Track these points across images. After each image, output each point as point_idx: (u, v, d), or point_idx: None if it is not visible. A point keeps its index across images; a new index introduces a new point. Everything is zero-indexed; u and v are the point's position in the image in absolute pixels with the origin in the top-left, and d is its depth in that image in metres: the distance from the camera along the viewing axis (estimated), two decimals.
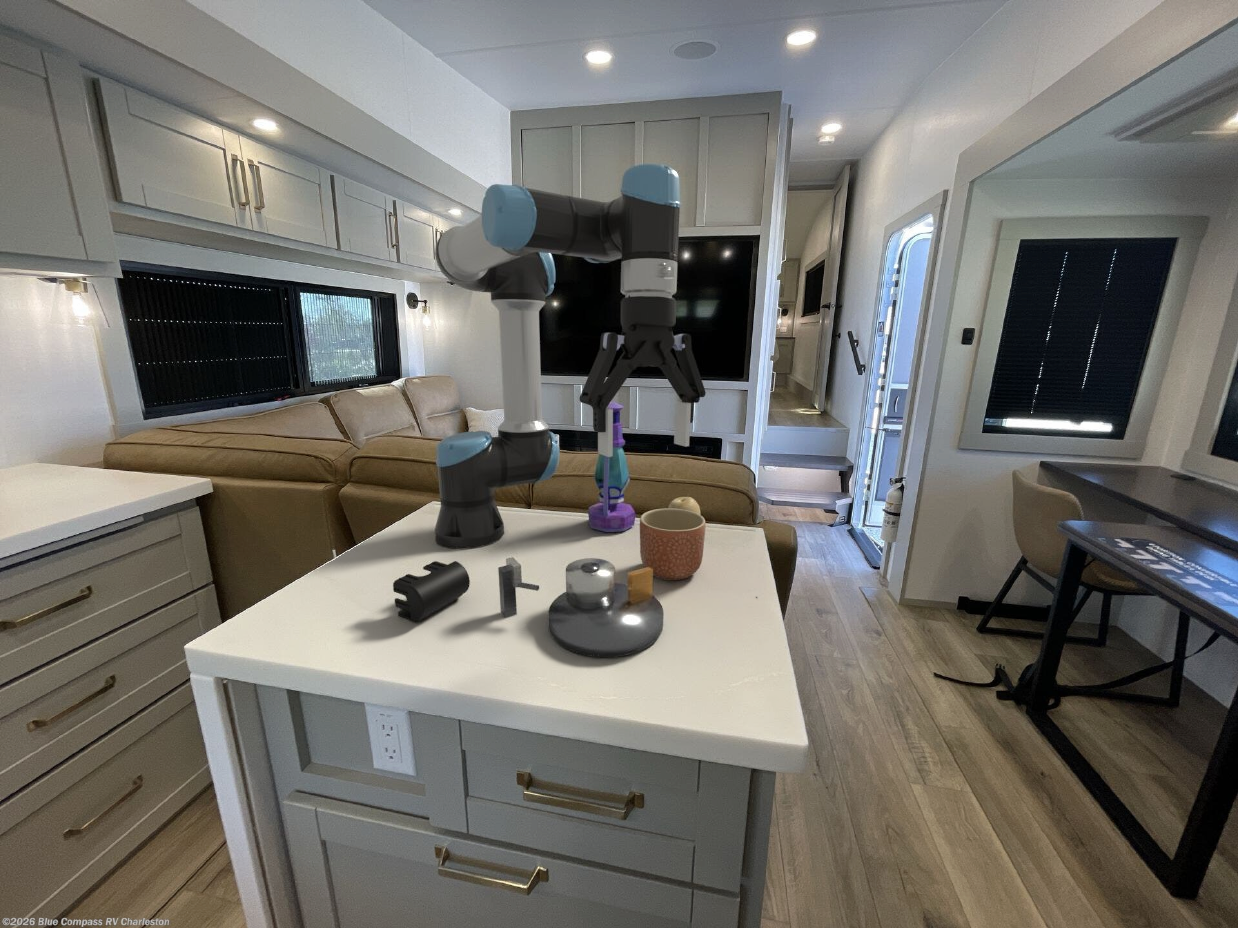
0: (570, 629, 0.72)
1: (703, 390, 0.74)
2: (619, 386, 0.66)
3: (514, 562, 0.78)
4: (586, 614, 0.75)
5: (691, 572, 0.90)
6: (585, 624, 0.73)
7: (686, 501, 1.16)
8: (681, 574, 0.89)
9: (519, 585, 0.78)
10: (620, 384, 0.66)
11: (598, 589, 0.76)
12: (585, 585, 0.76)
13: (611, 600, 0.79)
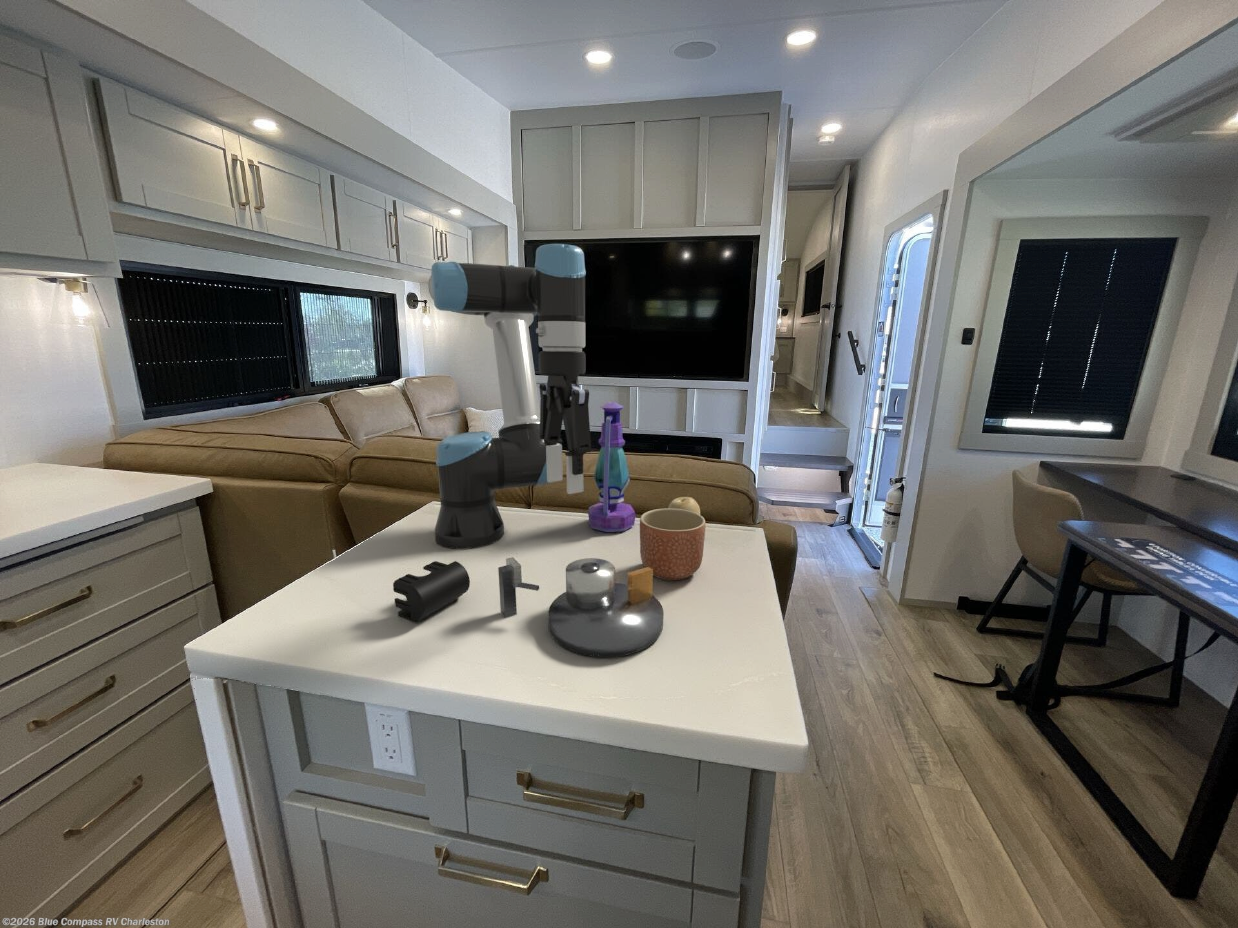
0: (570, 629, 0.72)
1: (576, 448, 0.76)
2: (548, 426, 0.84)
3: (514, 562, 0.78)
4: (586, 614, 0.75)
5: (691, 572, 0.90)
6: (585, 624, 0.73)
7: (686, 501, 1.16)
8: (681, 574, 0.89)
9: (519, 585, 0.78)
10: (548, 424, 0.84)
11: (598, 589, 0.76)
12: (585, 585, 0.76)
13: (611, 600, 0.79)
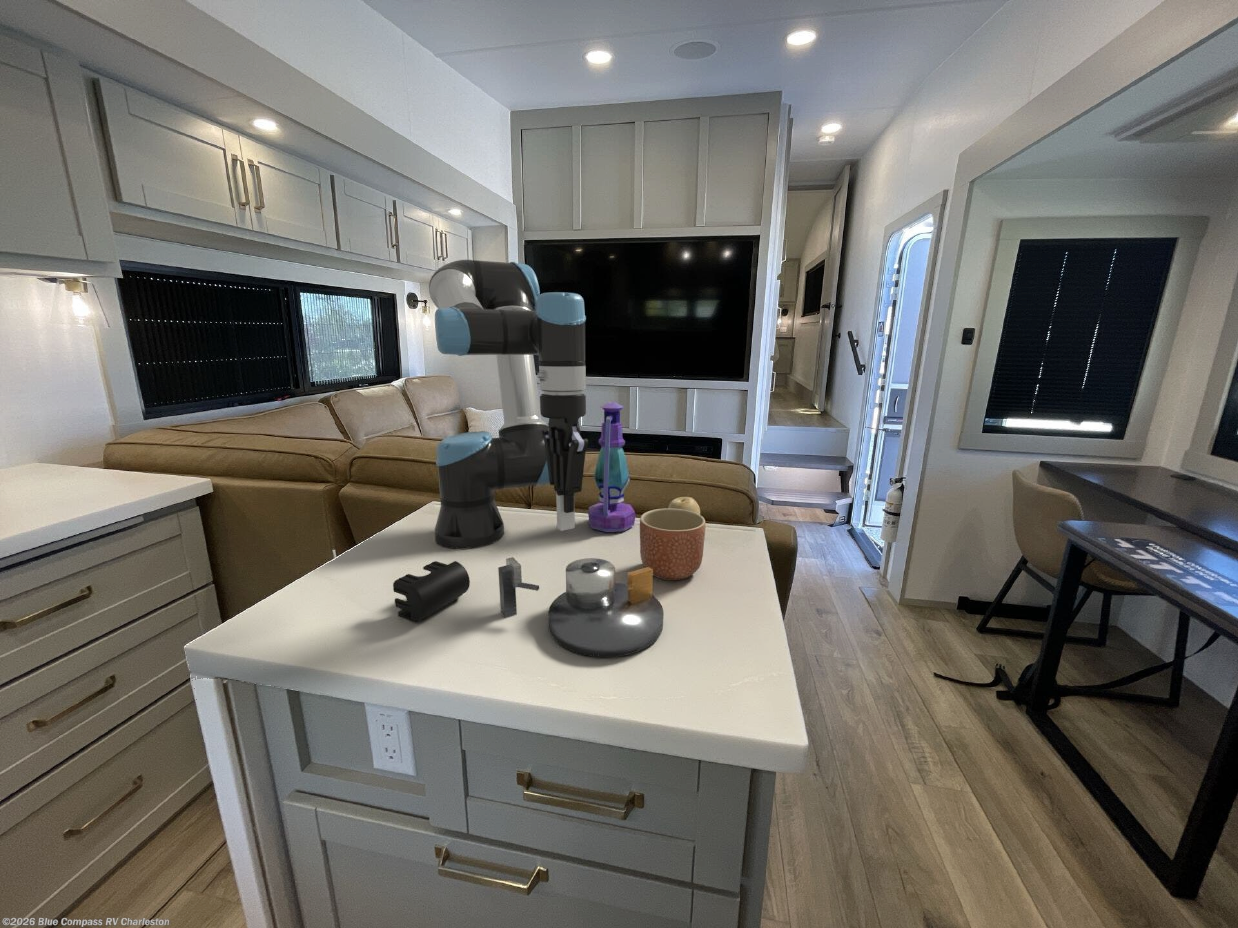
0: (570, 629, 0.72)
1: (567, 489, 0.80)
2: (555, 469, 0.83)
3: (514, 562, 0.78)
4: (586, 614, 0.75)
5: (691, 572, 0.90)
6: (585, 624, 0.73)
7: (686, 501, 1.16)
8: (681, 574, 0.89)
9: (519, 585, 0.78)
10: (555, 468, 0.83)
11: (598, 589, 0.76)
12: (585, 585, 0.76)
13: (611, 600, 0.79)
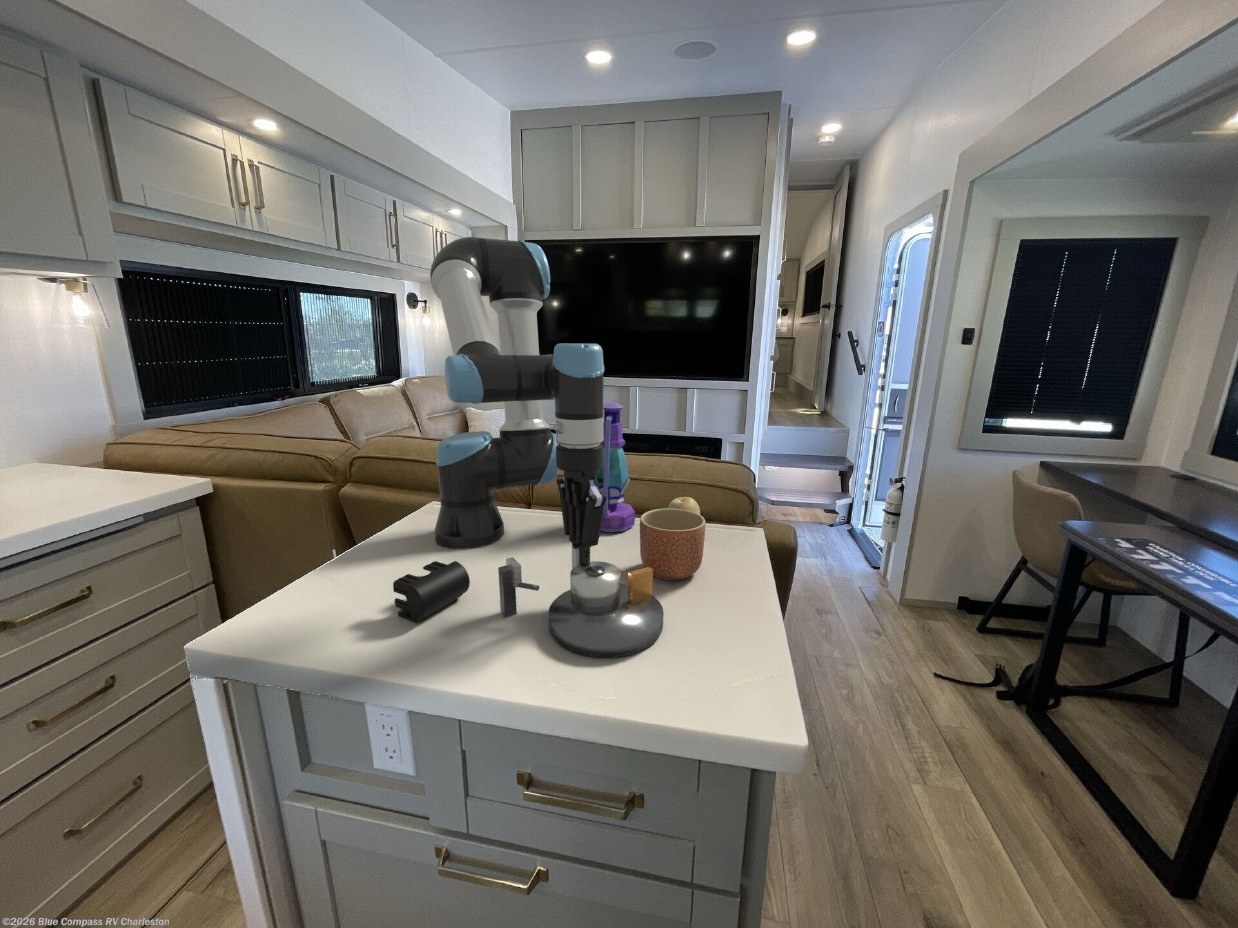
0: (570, 629, 0.72)
1: (584, 543, 0.78)
2: (571, 521, 0.81)
3: (514, 562, 0.78)
4: (586, 614, 0.75)
5: (691, 572, 0.90)
6: (585, 624, 0.73)
7: (686, 501, 1.16)
8: (681, 574, 0.89)
9: (519, 585, 0.78)
10: (571, 519, 0.81)
11: (604, 593, 0.75)
12: (590, 589, 0.75)
13: (617, 604, 0.78)
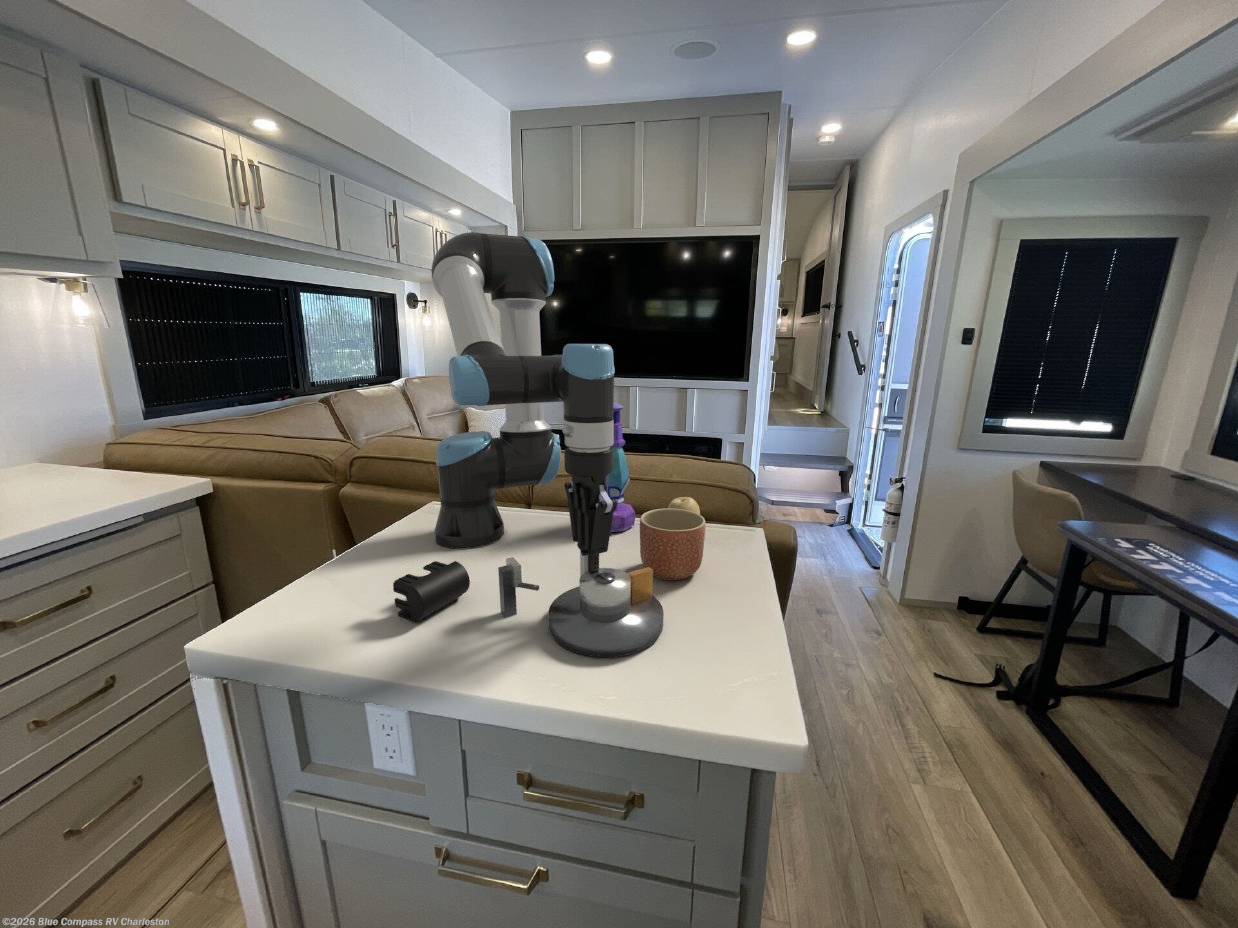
0: (569, 629, 0.72)
1: (593, 550, 0.75)
2: (580, 527, 0.78)
3: (514, 562, 0.78)
4: None
5: (691, 572, 0.90)
6: (585, 624, 0.73)
7: (686, 501, 1.16)
8: (681, 574, 0.89)
9: (519, 585, 0.78)
10: (579, 525, 0.78)
11: (614, 601, 0.73)
12: (601, 597, 0.72)
13: (627, 612, 0.75)
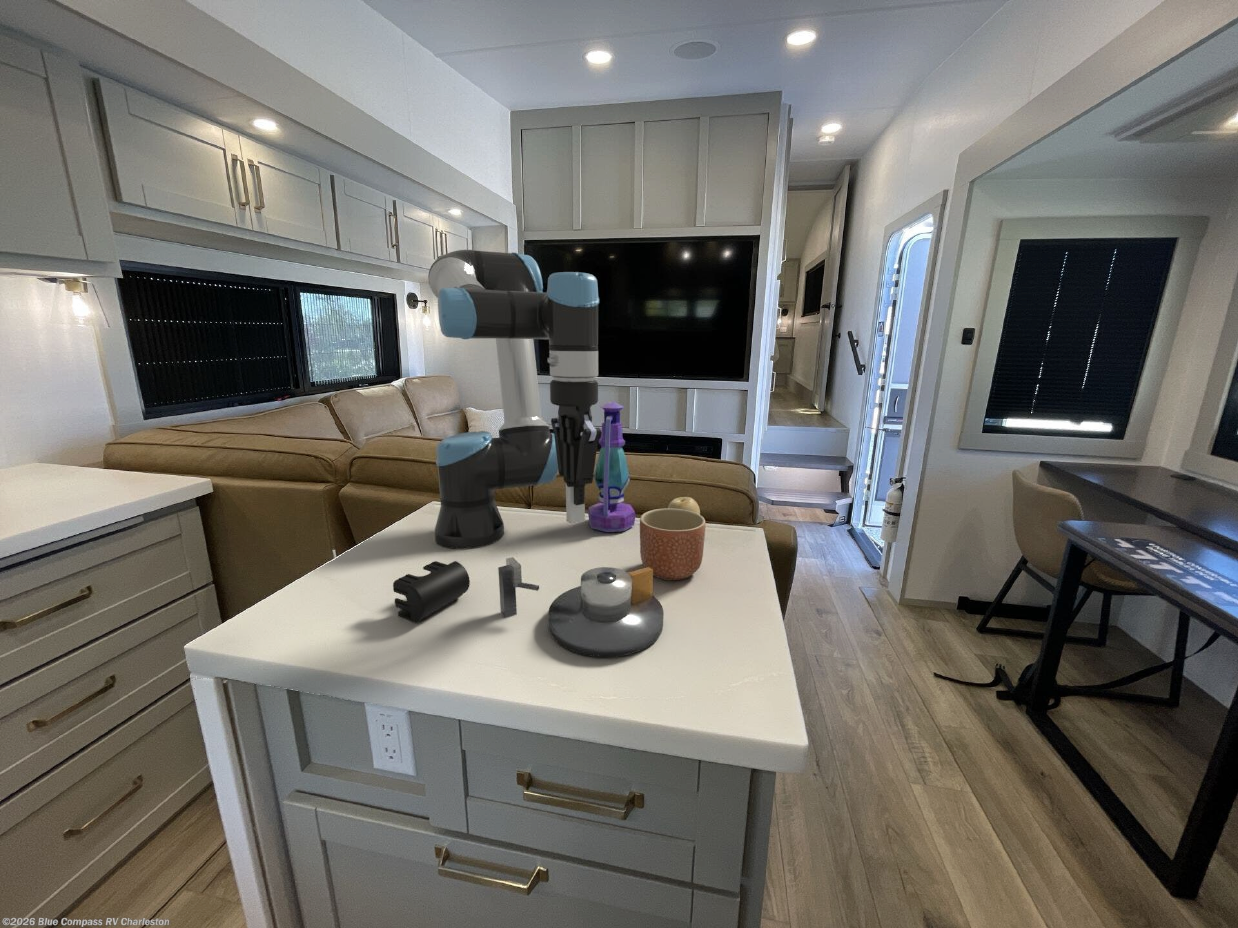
0: (569, 629, 0.72)
1: (578, 480, 0.77)
2: (565, 460, 0.80)
3: (514, 562, 0.78)
4: None
5: (691, 572, 0.90)
6: (585, 624, 0.73)
7: (686, 501, 1.16)
8: (681, 574, 0.89)
9: (519, 585, 0.78)
10: (565, 458, 0.80)
11: (616, 600, 0.73)
12: (603, 596, 0.72)
13: (628, 612, 0.76)
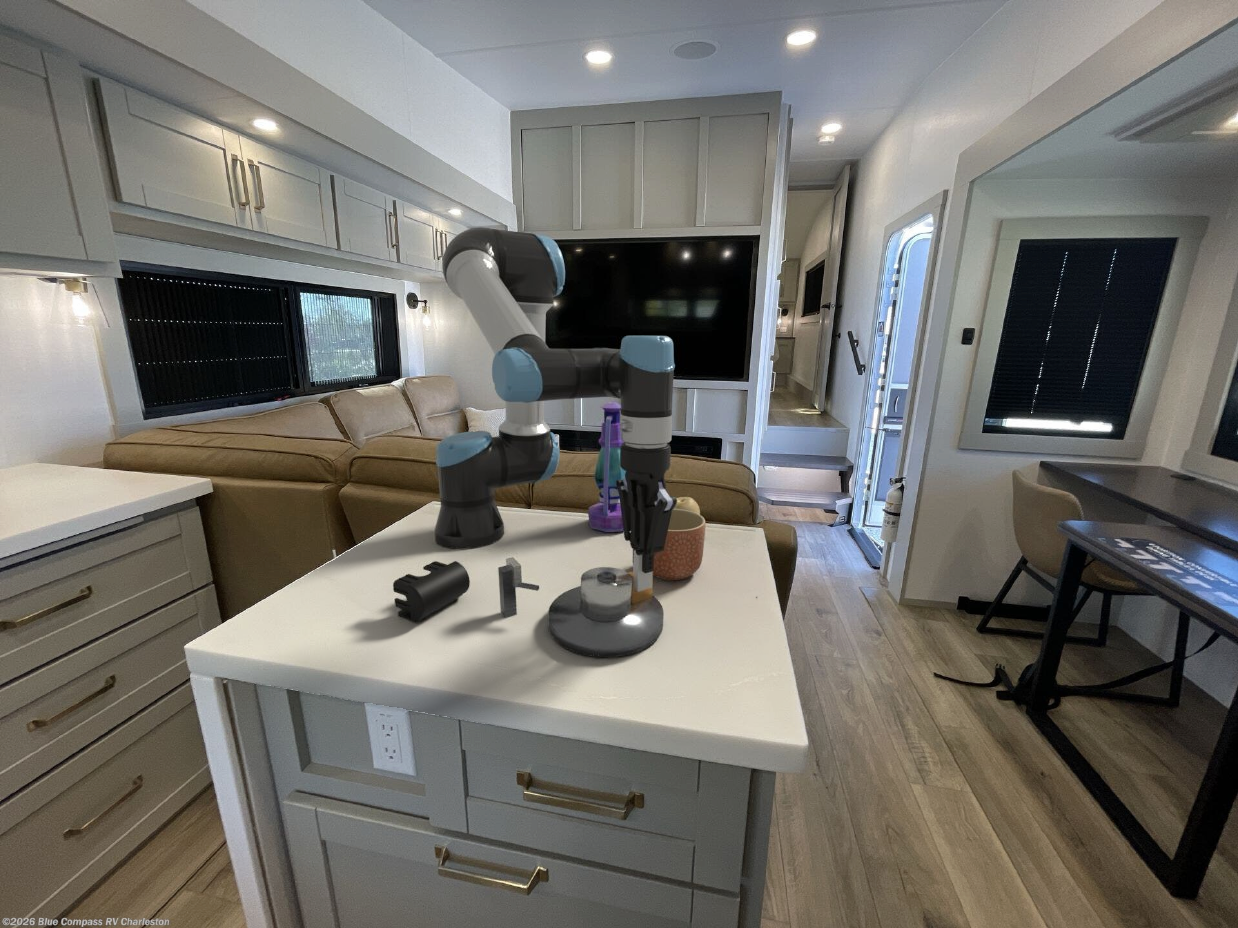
0: (569, 629, 0.72)
1: (650, 550, 0.73)
2: (634, 525, 0.76)
3: (514, 562, 0.78)
4: None
5: (691, 572, 0.90)
6: (585, 624, 0.73)
7: (685, 501, 1.16)
8: (681, 574, 0.89)
9: (519, 585, 0.78)
10: (633, 523, 0.76)
11: (620, 599, 0.73)
12: (608, 596, 0.72)
13: (630, 609, 0.76)
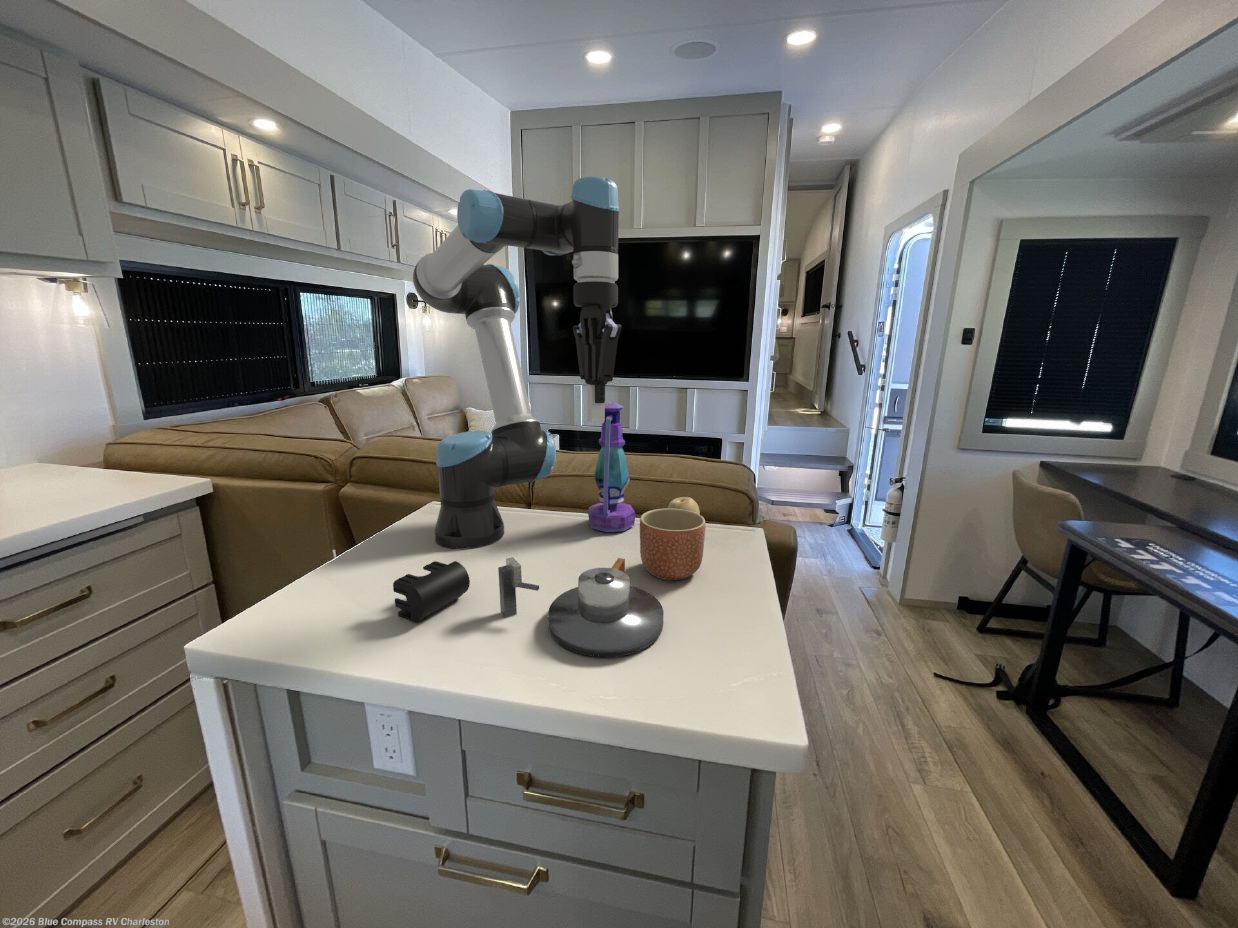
0: (602, 637, 0.70)
1: (600, 377, 0.83)
2: (587, 361, 0.86)
3: (514, 562, 0.78)
4: None
5: (691, 572, 0.90)
6: (608, 628, 0.72)
7: (685, 501, 1.16)
8: (681, 574, 0.89)
9: (519, 585, 0.78)
10: (587, 359, 0.86)
11: (629, 589, 0.76)
12: (626, 591, 0.74)
13: None
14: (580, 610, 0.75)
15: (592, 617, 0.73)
